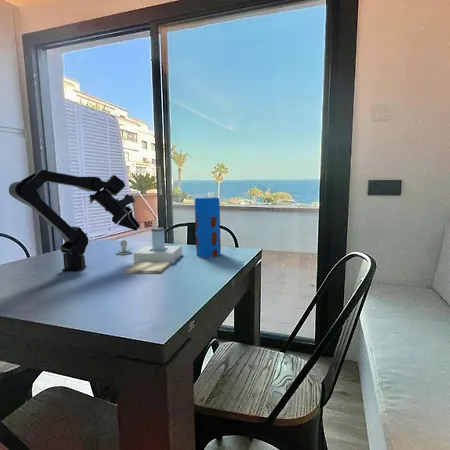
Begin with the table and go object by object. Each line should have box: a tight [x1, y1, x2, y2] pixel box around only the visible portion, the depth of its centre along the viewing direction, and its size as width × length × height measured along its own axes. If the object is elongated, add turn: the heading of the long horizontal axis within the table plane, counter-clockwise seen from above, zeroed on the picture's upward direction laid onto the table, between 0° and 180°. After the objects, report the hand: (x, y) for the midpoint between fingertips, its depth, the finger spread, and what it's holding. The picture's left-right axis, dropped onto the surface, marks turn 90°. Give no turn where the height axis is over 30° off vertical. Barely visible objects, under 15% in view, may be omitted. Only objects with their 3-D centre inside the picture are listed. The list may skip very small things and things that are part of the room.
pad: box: [125, 262, 172, 274], centre depth 123 cm, size 13×13×1 cm
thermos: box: [194, 196, 222, 258], centre depth 143 cm, size 11×11×25 cm
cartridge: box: [150, 227, 166, 251], centre depth 138 cm, size 5×5×13 cm
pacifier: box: [115, 239, 133, 256], centre depth 151 cm, size 7×6×6 cm
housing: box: [133, 245, 183, 264], centre depth 138 cm, size 16×16×4 cm
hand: (138, 228), depth 136 cm, fingers open, 9 cm apart
